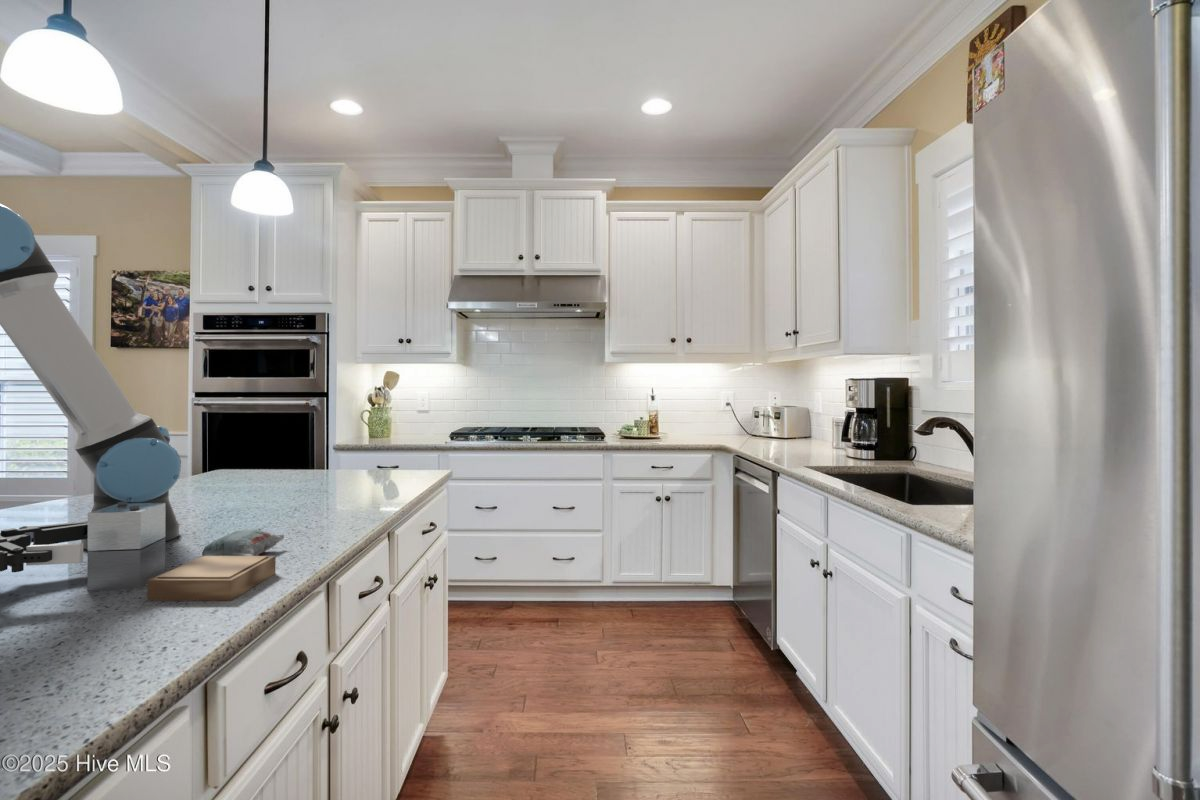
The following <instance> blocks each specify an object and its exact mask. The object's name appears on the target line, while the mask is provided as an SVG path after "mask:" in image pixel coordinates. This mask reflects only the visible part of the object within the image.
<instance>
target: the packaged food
mask: <svg viewBox="0 0 1200 800" xmlns="http://www.w3.org/2000/svg"><path fill="white" fill-rule="evenodd" d="M284 537H285V535H284V534H277V535H276V534H274V533H271V532H268V531H266V530H262V529H261V528H254V529H244V530H243V529H242V530H236V531H234V532H232V533H229V534H226V535H224V536H222V537H219V538H217V539H214V541H212V542H210V543H209V544H207V545H206V546H204V548H203V551H202V552H201V554H202V555H201V556H262V554H264V553H265V552H266V551H268V550H270V549H272V548H273V547H276V545H277V544H278V543H280V541H282V540H283V539H284Z"/></svg>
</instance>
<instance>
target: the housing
mask: <svg viewBox="0 0 1200 800" xmlns="http://www.w3.org/2000/svg"><path fill="white" fill-rule="evenodd" d="M87 521H88V549H87V592H97V591H114V590H129V589H128V588H136V589H141V587H142V588H144V587H145V586H146V584H147V582H148V580H149V579H152V578H154V577H156V576H158V575H161V574H163V573H165V572H166V541H165V538H164V537H165V503H132V504H127V501H122V502H118V504H115V505H112V506H109V507H106V508H102V509H99V510H96V511H93V512H91V511H90V512H87Z"/></svg>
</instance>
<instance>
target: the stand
mask: <svg viewBox="0 0 1200 800" xmlns="http://www.w3.org/2000/svg"><path fill="white" fill-rule="evenodd" d="M276 558H277V557H276V555H258V556H202V555H201V556H199V557H197V558H194V559H192V560H190V561H188V562H186V563H183V564H182V565H179V566H176V567H174V568H172V569H169V570H168V571H165V573H163V574H161V575H158V576H156V577H154V578H152V579H149V580H148V582H147V588H146V590H147V592H146V593H147V597H146V598H147V599H146V600H147V601H153V602H154V601H171V602H172V601H173V602H174V601H178V602H179V601H181V602H182V601H232V600H235V599H236V598H238V597H239V596H241V595H243V594H244V593H246V592H247V591H249V590H251V589H252V588H254V587H256V586H257V585H260V584H261V583H262V582H264V581H266V580H267V579H268V578H271V577H272V576H274V575H276V562H277V561H276V560H277V559H276Z"/></svg>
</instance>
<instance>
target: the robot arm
mask: <svg viewBox="0 0 1200 800" xmlns="http://www.w3.org/2000/svg"><path fill="white" fill-rule="evenodd" d="M34 235H35V233H34V230H33V229H32V227H31V226H30V224H29V223H28V222H27V221H26V220H25V218H24V217H22V216H21V215H20V214H18V213H16V211H14V210H12V209H11V208H9V207H8V206H5V205H3V204H2V203H0V326H1V328H2V329H3V331H4V332H5V334H6V336H8V338H9V339H10V341H11V342H12V344H13V345H14V346H15V348H16V349H17V350H18V352H19V353H20V354H21V356H22V358H23V359H24V361H25V362H26V363H27V365H28V366H29V367H30V369H31V370H32V371H33V373H34V374H35V376H36V377H37V378H38V381H40V383H41V384H42V385H43V387H44V388H45V390H46V391H47V393H48V394H49V395H50V396H51V398H52V400H53V401H54V403H55V404H56V406H57V407H58V408H59V409H60V411H61V412H62V414H63V415H64V416H65V418H66V419H67V421H68V422H69V424H70V425H71V427H72V428H73V429H74V430H75V432H76V433H77V439H76V442H75V444H74V446H73V448H74V450H75V452H76V453H77V454H78V455H79V457H80V458H81V460H82V461H83V462H84V464H85V465H86V467H87V468H88V469H89V471H90V472H91V474H92V476H93V505H92V509H91V510H90V512H93V511H96V510H99V509H102V508H106V507H109V506H112V505H115V504H118V502H122V501H127V504H132V503H165V537H164V538H165V542H168V541H171V540H173V539H176V538H177V537H178V536H179V535H180V524H179V521H178V520H177V518H176V514H175V512H174V509H173V507H172V504H171V501H170V498H169V497H170V496H169V495H170V493H169V491H170V490H171V489H172V487H174V485H175V484H176V482H177V481H178V479H179V477H180V474H181V469H182V465H181V464H182V460H181V458H180V457H181V456H180V455H179V453H178V451H177V450H176V449H175V448H174V447H173V446H171V444H170V442H171V437H170V432H169V429H168V428H167V427H165V426H162V425H157V424H156V423H155V421H154V419H153V417H152V416H150V415H146V414H143V413H139V412H138V411H136V410H135V408H134V407H133V405H132V403H131V402H130V401H129V399H128V398H127V396H126V395H125V393H124V392H123V390H122V388H121V387H120V386H119V384H118V383H117V381H116V380H115V379H114V377H113V375H112V373H111V372H110V371H109V370H108V367H107V366H106V365H105V363H104V362H103V359H101V357H100V356H99V354H98V352H97V351H96V350H95V348H94V347H93V345H92V343H91V342H90V340H89V339H88V338H87V336H86V335H85V333H84V332H83V330H82V328H81V327H80V325H79V324H78V323H77V321H76V320H75V318H74V316H73V315H72V313H71V312H70V311H69V309H68V307H67V306H66V304H65V302H64V301H63V299H62V298H61V297H60V295H59V294H58V292H57V291H56V290H55V284H56V282H57V279H58V277H59V274H58V273H57V271H56V269H55V268H54V266H53V264H52V262H50V260H49V258H48V257H47V255H46V254H45V252H44V251H43V249H42V248H41V246H40V245H39V244H38V242H37V240H36V237H35V236H34ZM75 541H80V543H69V542H75ZM67 542H68V543H67ZM31 543H32V545H31ZM84 550H88V520H86V521H75V522H65V523H64V522H63V523H55V524H43V525H29V526H27V525H23V526H21V527H19V528H18V529H17V528H14V527H13V528H7V529H6V528H4V529H1V530H0V572H5V571H7V570H9V569H8V566H9V567H10V568H11V573H20V572H23V571H24V568H25V567H24V566H25V565H24V564H26V566H45V565H47V566H48V565H68V564H69V565H70V564H71V565H72V564H82V563H84Z"/></svg>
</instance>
